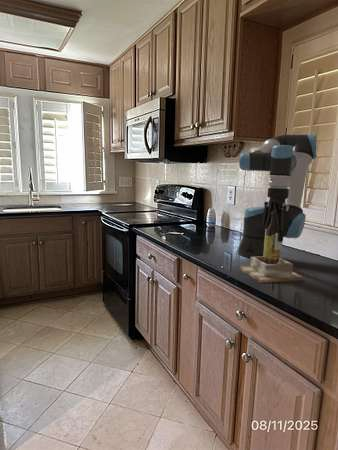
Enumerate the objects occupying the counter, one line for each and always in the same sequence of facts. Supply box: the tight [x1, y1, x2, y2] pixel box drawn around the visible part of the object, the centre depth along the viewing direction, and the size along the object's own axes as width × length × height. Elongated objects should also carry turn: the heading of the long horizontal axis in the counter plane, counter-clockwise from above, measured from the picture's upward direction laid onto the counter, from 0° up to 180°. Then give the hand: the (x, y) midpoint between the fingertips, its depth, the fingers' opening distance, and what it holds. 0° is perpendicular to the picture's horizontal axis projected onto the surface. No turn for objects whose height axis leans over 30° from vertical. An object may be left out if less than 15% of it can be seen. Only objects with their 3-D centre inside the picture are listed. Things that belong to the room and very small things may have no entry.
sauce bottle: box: [263, 211, 282, 263], centre depth 122 cm, size 7×6×20 cm
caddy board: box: [239, 256, 304, 284], centre depth 124 cm, size 16×18×6 cm
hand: (272, 247), depth 122 cm, fingers closed on sauce bottle, 6 cm apart
